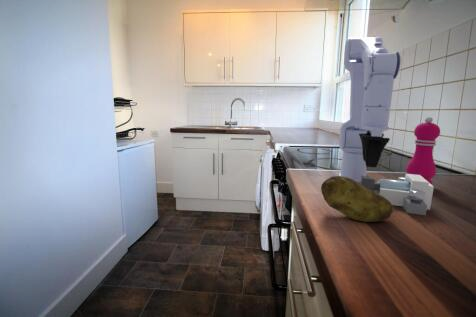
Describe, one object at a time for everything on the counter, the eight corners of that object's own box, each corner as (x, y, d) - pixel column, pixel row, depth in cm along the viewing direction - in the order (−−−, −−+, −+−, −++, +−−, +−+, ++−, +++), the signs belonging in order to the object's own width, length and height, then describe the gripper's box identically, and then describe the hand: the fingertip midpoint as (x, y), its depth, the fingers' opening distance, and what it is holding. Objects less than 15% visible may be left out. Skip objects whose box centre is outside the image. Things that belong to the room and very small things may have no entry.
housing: (373, 189, 71) (376, 167, 69) (416, 194, 67) (420, 171, 66) (381, 209, 56) (384, 182, 55) (436, 217, 53) (441, 188, 52)
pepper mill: (423, 182, 79) (434, 117, 76) (439, 189, 72) (452, 117, 69) (399, 181, 80) (408, 116, 76) (412, 188, 73) (423, 117, 69)
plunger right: (405, 206, 57) (408, 188, 57) (420, 209, 56) (423, 190, 56) (408, 211, 55) (411, 192, 54) (423, 213, 54) (426, 194, 53)
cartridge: (358, 192, 67) (360, 174, 66) (414, 199, 62) (417, 180, 61) (359, 196, 63) (362, 178, 62) (418, 204, 59) (421, 185, 58)
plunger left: (395, 191, 68) (397, 176, 68) (407, 193, 67) (409, 177, 67) (397, 194, 66) (399, 179, 65) (409, 196, 65) (412, 180, 64)
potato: (385, 234, 45) (391, 190, 43) (314, 214, 53) (317, 176, 51) (392, 219, 51) (398, 180, 50) (328, 203, 59) (331, 169, 58)
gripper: (356, 107, 68) (350, 157, 71) (359, 106, 55) (352, 167, 58) (386, 107, 66) (379, 159, 68) (397, 106, 53) (388, 171, 55)
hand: (369, 163), depth 63 cm, fingers open, 7 cm apart
